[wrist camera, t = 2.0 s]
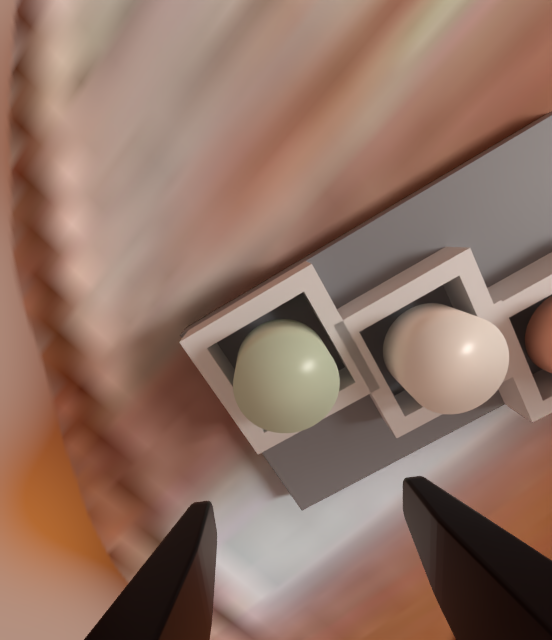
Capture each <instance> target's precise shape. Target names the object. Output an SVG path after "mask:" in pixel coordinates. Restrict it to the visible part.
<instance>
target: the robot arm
mask: <svg viewBox="0 0 552 640" xmlns="http://www.w3.org/2000/svg"><path fill="white" fill-rule="evenodd" d="M403 512H404V516H405V520H406V522H407V525H408V528H409V530H410V533H411V535H412V538H413V541H414V543H415V546H416V548H417V551H418V554H419V556H420V559H421V561H422V564H423V567H424V569H425V572H426V574H427V577H428V580H429V582H430V585H431V587H432V590H433V592H434V595H435V597H436V599H437V601H438V603H439V605H440V608H441V610H442V612H443V614H444V616H445V618H446V620H447V622H448V624H449V626H450V628H451V630H452V632H453V634H454V636H455V638H456V640H552V560H550V559H549V558H547V557H545V556H544V555H542V554H541V553H539V552H538V551H536V550H535V549H533V548H532V547H530V546H529V545H527V544H526V543H524V542H522V541H521V540H519V539H518V538H516V537H515V536H513V535H512V534H510V533H509V532H507V531H506V530H504V529H503V528H501V527H499V526H498V525H496V524H495V523H493V522H492V521H490V520H489V519H487V518H486V517H484V516H483V515H481V514H480V513H478V512H476V511H475V510H473V509H472V508H470V507H469V506H467V505H466V504H464V503H463V502H461V501H460V500H458V499H457V498H455V497H453V496H452V495H450V494H449V493H447V492H446V491H444V490H443V489H441V488H440V487H438V486H437V485H435V484H433V483H432V482H430V481H429V480H427V479H426V478H424V477H422V476H416V477H408V478H405V479H404V481H403ZM216 550H217V530H216V524H215V518H214V512H213V506H212V503H211V502H210V501H203V502H195V503H193V504H191V505H190V507H189V508H188V509H187V510H186V512H185V513H184V514H183V516H182V517H181V518H180V519H179V521H178V522H177V523H176V524H175V526H174V527H173V528H172V529H171V531H170V532H169V533H168V534H167V536H166V537H165V538H164V539H163V541H162V542H161V543H160V545H159V546H158V547H157V548H156V550H155V551H154V552H153V553H152V555H151V556H150V557H149V558H148V560H147V561H146V562H145V563H144V565H143V566H142V567H141V568H140V570H139V571H138V572H137V574H136V575H135V576H134V577H133V579H132V580H131V581H130V582H129V584H128V585H127V586H126V587H125V589H124V590H123V591H122V592H121V594H120V595H119V596H118V597H117V599H116V600H115V601H114V603H113V604H112V605H111V606H110V608H109V609H108V610H107V611H106V613H105V614H104V615H103V616H102V618H101V619H100V620H99V622H98V623H97V624H96V625H95V627H94V628H93V629H92V630H91V632H90V633H89V634H88V635H87V637H86V638H85V639H84V640H209V639H210V632H211V624H212V613H213V598H214V582H215V566H216Z"/></svg>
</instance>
